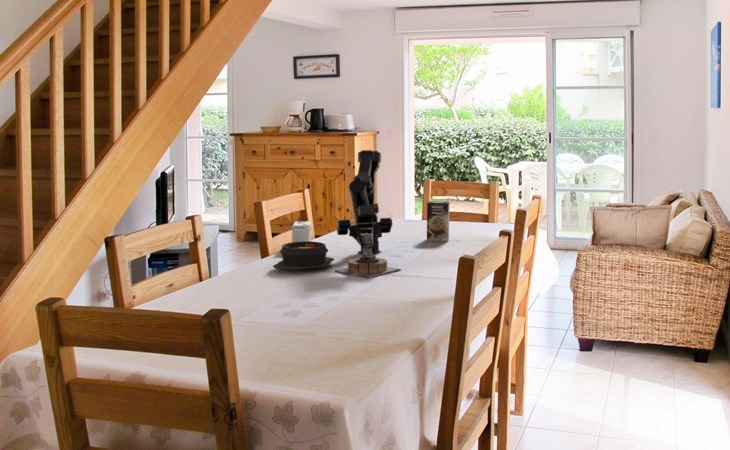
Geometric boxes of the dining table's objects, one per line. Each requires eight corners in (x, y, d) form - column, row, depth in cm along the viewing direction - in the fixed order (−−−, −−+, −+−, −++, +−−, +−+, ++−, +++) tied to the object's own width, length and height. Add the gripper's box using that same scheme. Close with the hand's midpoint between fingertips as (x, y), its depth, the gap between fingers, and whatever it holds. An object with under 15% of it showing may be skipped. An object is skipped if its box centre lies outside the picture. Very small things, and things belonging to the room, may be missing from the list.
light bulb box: (295, 247, 327) (294, 221, 325) (312, 247, 327) (311, 220, 325) (292, 252, 317) (291, 225, 315) (309, 252, 316) (308, 224, 315)
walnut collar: (334, 271, 279) (334, 261, 278) (366, 264, 290) (366, 254, 290) (369, 278, 268) (368, 267, 267) (400, 270, 280) (400, 260, 279)
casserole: (306, 259, 302) (305, 237, 300) (346, 265, 291) (346, 241, 290) (260, 271, 281) (259, 247, 280) (302, 277, 271) (301, 252, 269)
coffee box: (426, 241, 337) (426, 202, 335) (427, 238, 344) (427, 200, 341) (448, 241, 336) (448, 203, 333) (449, 239, 342) (449, 201, 340)
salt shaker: (374, 268, 276) (374, 233, 274) (357, 267, 277) (357, 233, 275) (377, 264, 281) (377, 230, 280) (361, 264, 283) (360, 230, 281)
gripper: (337, 196, 277) (343, 233, 269) (391, 194, 281) (398, 231, 272) (334, 216, 286) (340, 252, 277) (386, 213, 290) (393, 250, 281)
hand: (368, 246), depth 277 cm, fingers closed on salt shaker, 4 cm apart
